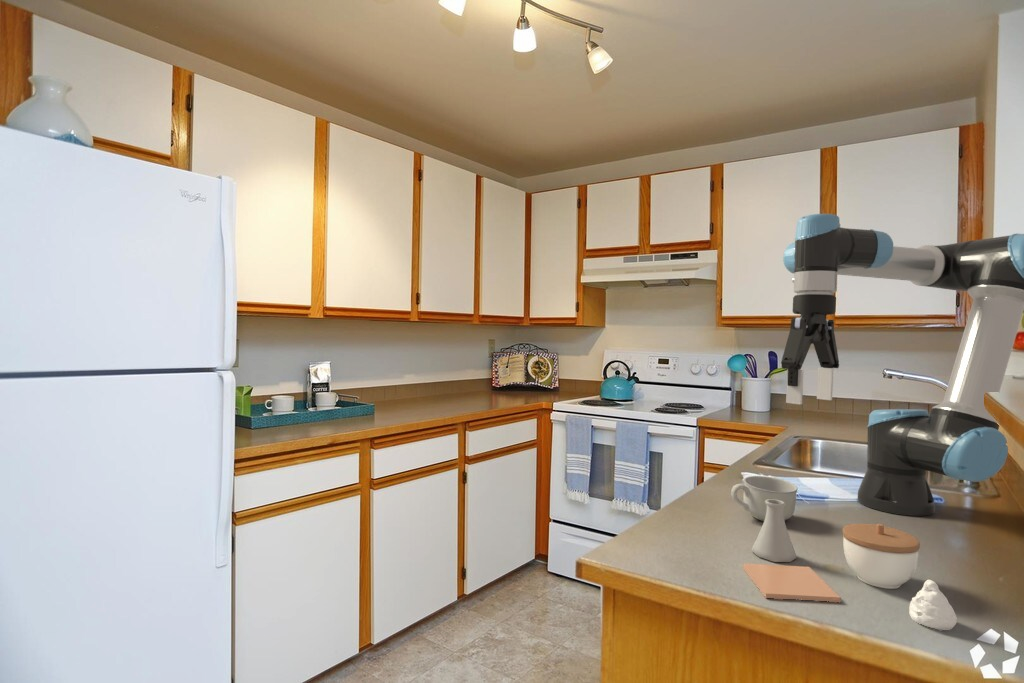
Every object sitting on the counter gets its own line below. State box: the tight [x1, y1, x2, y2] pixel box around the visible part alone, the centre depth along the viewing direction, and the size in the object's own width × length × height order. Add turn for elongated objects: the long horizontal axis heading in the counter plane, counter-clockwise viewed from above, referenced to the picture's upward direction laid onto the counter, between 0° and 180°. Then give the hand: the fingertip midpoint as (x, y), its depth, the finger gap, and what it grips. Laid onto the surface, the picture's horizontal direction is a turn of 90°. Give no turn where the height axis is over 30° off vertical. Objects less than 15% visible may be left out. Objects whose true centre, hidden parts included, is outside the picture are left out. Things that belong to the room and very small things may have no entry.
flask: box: [751, 499, 798, 563], centre depth 104 cm, size 7×7×10 cm
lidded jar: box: [842, 523, 921, 590], centre depth 94 cm, size 11×11×9 cm
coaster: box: [742, 563, 841, 603], centre depth 92 cm, size 11×11×1 cm
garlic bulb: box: [908, 579, 958, 631], centre depth 80 cm, size 6×6×5 cm
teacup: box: [730, 475, 798, 522], centre depth 124 cm, size 14×11×8 cm
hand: (809, 401), depth 112 cm, fingers open, 13 cm apart
